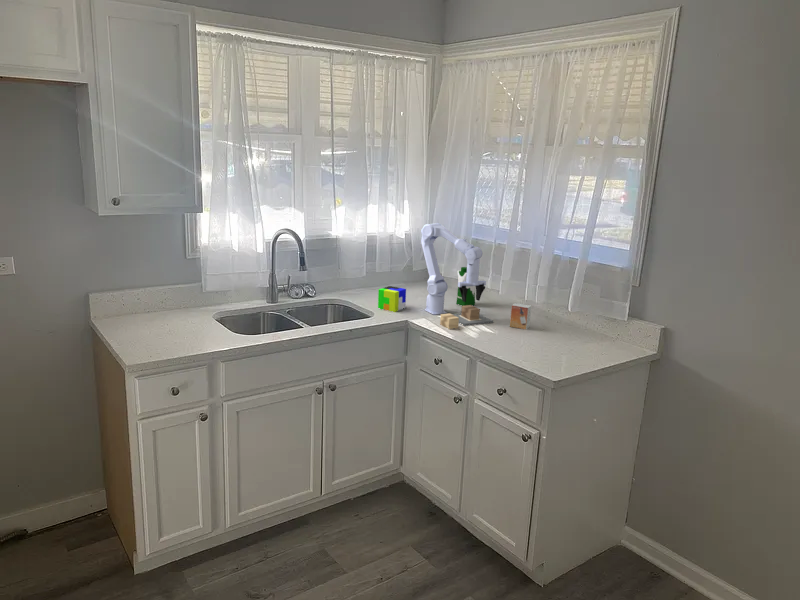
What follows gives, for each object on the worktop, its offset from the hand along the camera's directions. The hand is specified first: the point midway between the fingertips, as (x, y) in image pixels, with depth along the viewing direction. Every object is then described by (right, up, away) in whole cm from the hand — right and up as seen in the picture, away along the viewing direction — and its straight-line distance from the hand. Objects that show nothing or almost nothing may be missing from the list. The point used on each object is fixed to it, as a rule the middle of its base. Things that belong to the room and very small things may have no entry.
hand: (470, 300), depth 290 cm
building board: (0, -9, +2) cm, 9 cm away
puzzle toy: (-38, -4, +18) cm, 42 cm away
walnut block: (0, -8, +2) cm, 8 cm away
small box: (+22, -12, -6) cm, 26 cm away
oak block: (-11, -12, -9) cm, 19 cm away
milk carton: (+1, -2, +30) cm, 30 cm away
